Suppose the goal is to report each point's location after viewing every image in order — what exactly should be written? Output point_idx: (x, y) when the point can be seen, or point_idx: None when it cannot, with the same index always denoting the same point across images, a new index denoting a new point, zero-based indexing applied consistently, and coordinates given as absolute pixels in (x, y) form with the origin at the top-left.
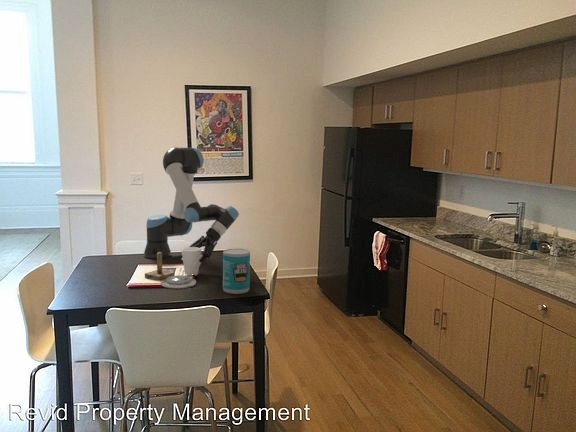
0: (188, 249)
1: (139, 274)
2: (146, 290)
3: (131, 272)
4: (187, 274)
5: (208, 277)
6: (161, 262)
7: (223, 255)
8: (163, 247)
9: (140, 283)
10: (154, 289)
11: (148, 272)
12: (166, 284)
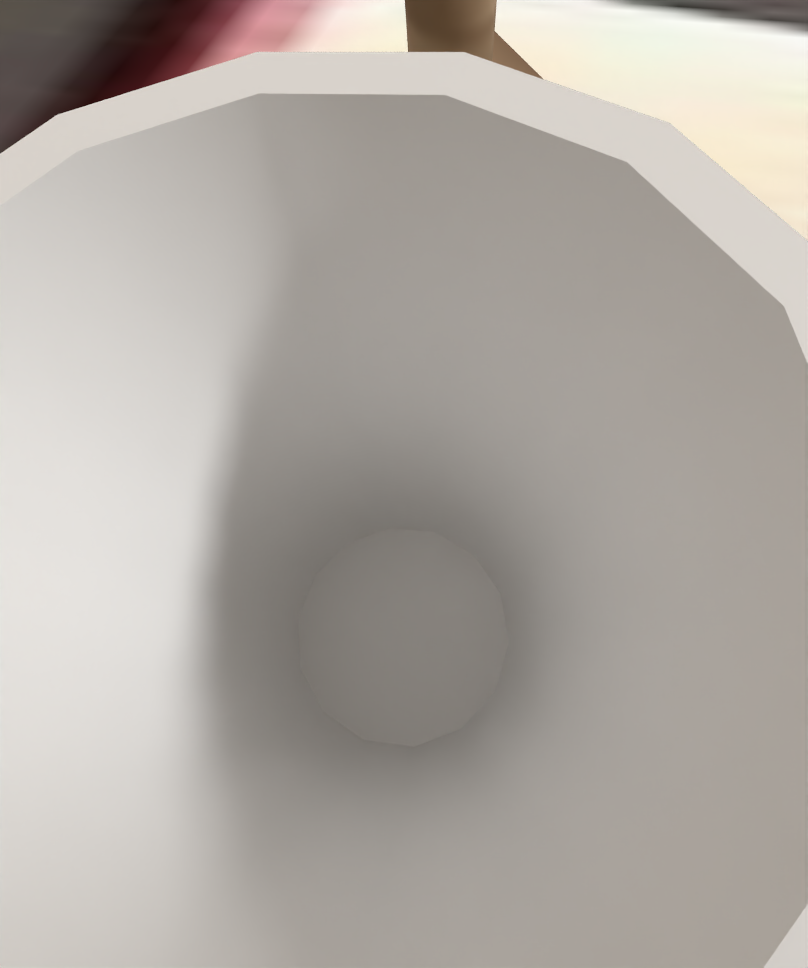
0: (753, 497)
1: (649, 55)
2: (35, 47)
3: (770, 2)
4: (343, 540)
5: None
6: (411, 4)
7: None
8: None
9: (282, 31)
10: (18, 101)
11: (526, 65)
12: None
